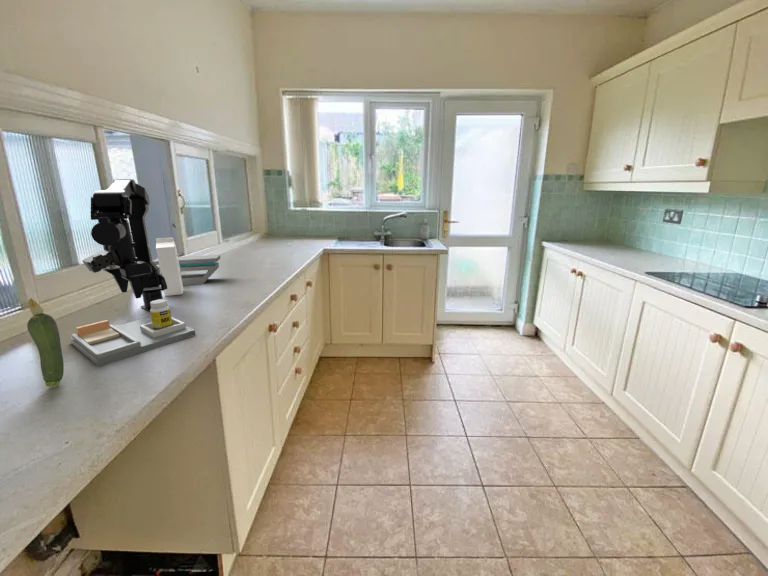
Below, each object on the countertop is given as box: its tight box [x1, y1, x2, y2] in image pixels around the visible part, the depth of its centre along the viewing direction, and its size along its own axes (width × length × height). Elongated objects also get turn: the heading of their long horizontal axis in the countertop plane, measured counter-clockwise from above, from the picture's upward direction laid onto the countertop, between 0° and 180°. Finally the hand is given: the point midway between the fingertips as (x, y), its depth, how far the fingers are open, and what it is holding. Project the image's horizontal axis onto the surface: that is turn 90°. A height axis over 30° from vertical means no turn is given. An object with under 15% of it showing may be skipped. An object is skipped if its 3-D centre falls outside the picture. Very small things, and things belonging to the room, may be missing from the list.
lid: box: [75, 319, 120, 345], centre depth 98 cm, size 8×7×3 cm
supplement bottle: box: [149, 298, 173, 331], centre depth 103 cm, size 5×5×8 cm
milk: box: [155, 236, 184, 297], centre depth 140 cm, size 6×6×22 cm
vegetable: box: [27, 297, 65, 388], centre depth 75 cm, size 4×4×20 cm
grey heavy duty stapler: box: [152, 254, 221, 286], centre depth 157 cm, size 25×8×11 cm, turn 103°
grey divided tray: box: [69, 316, 196, 367], centre depth 100 cm, size 22×23×3 cm
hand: (131, 295), depth 101 cm, fingers open, 9 cm apart
